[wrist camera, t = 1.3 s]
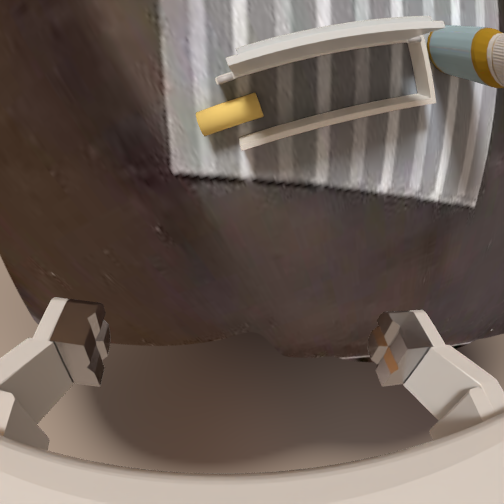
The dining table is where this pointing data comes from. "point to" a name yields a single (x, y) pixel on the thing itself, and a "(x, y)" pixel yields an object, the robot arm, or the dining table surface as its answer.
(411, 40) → the white long shallow tray
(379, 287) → the dining table surface
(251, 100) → the yellow cylinder
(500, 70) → the bottle
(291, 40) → the cover
